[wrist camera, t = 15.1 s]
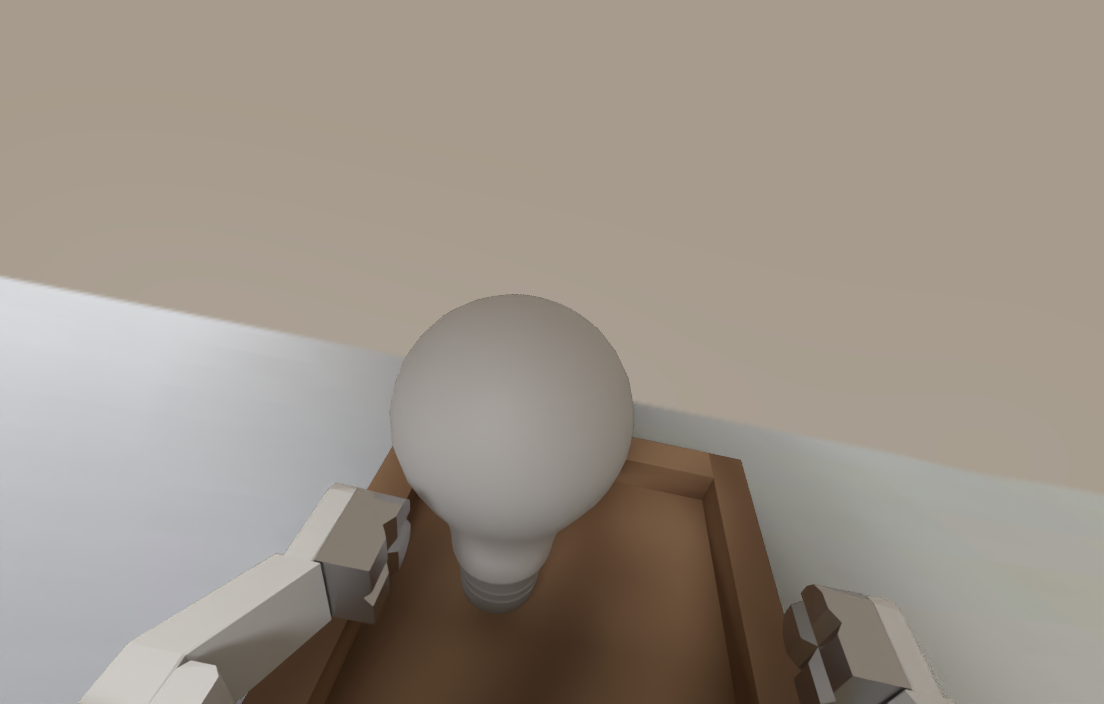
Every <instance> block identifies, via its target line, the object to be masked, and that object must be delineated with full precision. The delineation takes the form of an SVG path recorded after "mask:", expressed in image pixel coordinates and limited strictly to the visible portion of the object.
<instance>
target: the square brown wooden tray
mask: <svg viewBox="0 0 1104 704" xmlns="http://www.w3.org/2000/svg"><path fill="white" fill-rule="evenodd" d="M367 490H370V491H374V492H379V493H383V494H388V495H392V496H396V497H401V498H405V499H409V500H410V512H409V514H408V516H407V518H406V519H407V520H408V521H409V523H410V524H411V532H410V539H409V544H408V547H407V550H406V554H405V557H404V559H403V562H402V564H401V566H400V569H399V570H398V571H397V572H396V573H394V574H393V575H391V576H390V577H389V587H390V592H389V594H388V596H387V599H386V601H385V603H384V606H383V608H382V610H381V612H380V615H379V617H378V619H377V621H376V624H375V625H374V624H368V623H363V622H358V621H352V620H347V619H342V618H336V617H331V618H332V619H331V621H329V622H328V623H327V624H326V625H325V626H324V627H323V628H321V629H320V630H319V631H318V632H317V633H316V634H314V635H313V636H312V637H311V638H310V639H309V640H308V641H306V642H305V643H304V644H303V645H302V646H301V647H299V648H298V649H297V650H296V651H295V652H294V653H293V654H291V655H290V656H289V657H288V658H287V659H286V660H284V661H283V662H282V663H281V664H280V665H279V666H278V667H276V668H275V669H274V670H273V671H272V672H271V673H270V674H268V675H267V676H266V677H265V678H264V679H263V680H261V681H260V682H259V683H258V684H257V685H256V686H255V687H253V688H252V689H251V690H250V691H249V692H248V694H247V695H246V697H245V699H244V700H243V702H242V704H800V702H799V698H798V694H797V691H796V687H795V683H794V680H793V679H794V676H795V674H796V671H797V669H798V667H797V666H796V665H795V664H794V662H793V661H792V660H791V659H790V657H789V656H788V655H787V653H786V649H785V645H784V641H783V632H782V626H783V620H784V614H783V610H782V607H781V603H780V600H779V596H778V592H777V589H776V585H775V581H774V578H773V574H772V571H771V567H770V563H769V560H768V556H767V553H766V549H765V545H764V542H763V538H762V534H761V531H760V527H759V524H758V520H757V516H756V513H755V509H754V506H753V502H752V498H751V495H750V491H749V487H748V484H747V480H746V477H745V473H744V469H743V466H742V462H741V460H738V459H734V458H729V457H724V456H719V455H715V454H710V453H705V452H700V451H696V450H691V449H686V448H681V447H677V446H672V445H667V444H662V443H658V442H653V441H648V440H643V439H639V438H634V437H632V439H631V444H630V448H629V451H628V455H627V459H626V461H625V463H624V465H623V467H622V469H621V471H620V473H619V475H618V476H617V478H616V479H615V481H614V483H613V484H612V486H611V487H610V489H609V490H608V492H607V493H606V494H605V495H604V496H603V497H602V498H601V500H600V501H599V502H598V503H597V504H596V505H595V506H594V507H592V508H591V509H590V510H588V511H587V512H586V513H585V514H583V515H582V516H581V517H579V518H578V519H577V520H575V521H574V522H572V523H571V524H570V525H568V526H567V527H565V528H564V529H562V530H560V531H559V532H557V534H556V536H555V538H554V540H553V543H552V547H551V550H550V554H549V556H548V558H547V560H546V561H545V563H544V564H543V566H542V567H541V568H540V570H539V573H538V578H537V581H536V583H535V586H534V589H533V592H532V594H531V596H530V597H529V599H528V600H527V601H526V602H525V603H524V604H523V605H522V606H520V607H519V608H517V609H515V610H513V611H511V612H507V613H500V614H495V613H488V612H485V611H482V610H480V609H479V608H477V607H475V606H474V605H473V604H472V603H471V602H470V601H469V600H468V598H467V597H466V596H465V593H464V591H463V588H462V583H461V578H460V564H459V562H458V560H457V558H456V556H455V554H454V551H453V546H452V538H451V531H450V528H449V525H448V524H447V523H446V522H445V521H444V520H443V519H441V518H440V517H439V516H438V515H437V514H435V513H434V512H433V511H432V510H431V509H430V508H429V506H428V505H427V504H426V503H425V502H424V501H423V500H422V499H421V498H420V497H419V496H418V494H417V493H416V492H415V491H414V489H413V488H412V487H411V485H410V484H409V483H408V482H407V479H406V477H405V475H404V472H403V470H402V467H401V465H400V463H399V460H398V458H397V455H396V453H395V451H394V448H393V446H392V448H391V450H390V451H389V453H388V455H387V457H386V458H385V460H384V462H383V463H382V465H381V467H380V468H379V470H378V472H377V474H376V475H375V477H374V479H373V480H372V482H371V484H370V486H369V487H368V489H367Z"/></svg>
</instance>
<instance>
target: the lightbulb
mask: <svg viewBox="0 0 1104 704" xmlns="http://www.w3.org/2000/svg"><path fill="white" fill-rule="evenodd" d="M390 423H391V434H392V445H393V448H394V451H395V453H396V455H397V458H398V460H399V463H400V465H401V467H402V470H403V472H404V475H405V477H406V479H407V482H408V483H409V484H410V485H411V487H412V488H413V489H414V491H415V492H416V493H417V494H418V496H419V497H420V498H421V499H422V500H423V501H424V502H425V503H426V504H427V505H428V506H429V508H430V509H431V510H432V511H433V512H434V513H435V514H437V515H438V516H439V517H440V518H441V519H443V520H444V521H445V522H446V523H447V524H448V525H449V528H450V531H451V538H452V546H453V551H454V554H455V556H456V558H457V560H458V562H459V564H460V578H461V583H462V588H463V591H464V593H465V596H466V597H467V598H468V600H469V601H470V602H471V603H472V604H473V605H474V606H475V607H477V608H479V609H480V610H482V611H485V612H488V613H495V614H500V613H507V612H511V611H513V610H515V609H517V608H519V607H520V606H522V605H523V604H524V603H525V602H526V601H527V600H528V599H529V597H530V596H531V594H532V592H533V589H534V586H535V583H536V581H537V578H538V573H539V570H540V568H541V567H542V566H543V564H544V563H545V561H546V560H547V558H548V556H549V554H550V550H551V547H552V543H553V540H554V538H555V536H556V534H557V532H559V531H560V530H562V529H564V528H565V527H567V526H568V525H570V524H571V523H572V522H574V521H575V520H577V519H578V518H579V517H581V516H582V515H583V514H585V513H586V512H587V511H588V510H590V509H591V508H592V507H594V506H595V505H596V504H597V503H598V502H599V501H600V500H601V498H602V497H603V496H604V495H605V494H606V493H607V492H608V490H609V489H610V487H611V486H612V484H613V483H614V481H615V479H616V478H617V476H618V475H619V473H620V471H621V469H622V467H623V465H624V463H625V461H626V459H627V455H628V451H629V448H630V444H631V439H632V433H633V427H634V408H633V401H632V395H631V389H630V384H629V378H628V376H627V374H626V372H625V370H624V368H623V366H622V364H621V361H620V359H619V357H618V355H617V353H616V351H615V350H614V348H613V347H612V346H611V344H610V343H609V342H608V340H607V339H606V338H605V336H604V335H603V334H602V333H601V332H600V330H599V329H598V328H597V327H595V326H594V325H593V324H592V323H590V322H589V321H588V320H587V319H585V318H584V317H582V316H581V315H579V314H578V313H577V312H575V311H573V310H572V309H570V308H568V307H566V306H564V305H561V304H559V303H556V302H553V301H550V300H547V299H544V298H540V297H535V296H530V295H518V294H512V295H500V296H492V297H487V298H483V299H478V300H475V301H473V302H470V303H468V304H465V305H463V306H461V307H459V308H456V309H454V310H452V311H450V312H449V313H447V314H446V315H444V316H443V317H442V318H441V319H439V320H438V321H437V322H436V323H435V324H433V325H432V326H431V327H430V328H429V329H428V330H427V331H426V332H425V333H424V334H423V335H422V336H421V337H420V338H419V340H418V341H417V342H416V343H415V345H414V346H413V347H412V349H411V350H410V352H409V353H408V355H407V356H406V358H405V360H404V361H403V364H402V366H401V369H400V371H399V374H398V376H397V379H396V382H395V387H394V391H393V396H392V401H391V407H390Z"/></svg>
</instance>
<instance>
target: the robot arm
mask: <svg viewBox="0 0 1104 704" xmlns="http://www.w3.org/2000/svg"><path fill="white" fill-rule="evenodd" d="M409 512H410V500H409V499H405V498H401V497H396V496H392V495H388V494H383V493H379V492H374V491H370V490H366V489H362V488H358V487H353V486H348V485H344V484H339V483H335V484H334V485H333V486H332V487H330V488H329V489H328V490H327V492H326V493H325V495H324V496H323V498H322V499H321V501H320V502H319V503H318V505H317V506H316V508H315V509H314V511H313V512H312V514H311V515H310V517H309V518H308V520H307V521H306V523H305V524H304V526H303V527H302V529H301V530H300V531H299V533H298V534H297V536H296V537H295V539H294V540H293V542H292V543H291V545H290V546H289V548H288V549H287V551H286V552H285V554H284V555H283V554H278V553H276V554H274V555H273V556H271V557H269V558H268V559H266V560H264V561H263V562H261V563H259V564H258V565H256V566H254V567H253V568H251V569H249V570H248V571H246V572H244V573H243V574H241V575H240V576H238V577H236V578H235V579H233V580H231V581H230V582H228V583H226V584H225V585H223V586H221V587H220V588H218V589H216V590H215V591H213V592H211V593H210V594H208V595H206V596H205V597H203V598H202V599H200V600H198V601H197V602H195V603H193V604H192V605H190V606H188V607H187V608H185V609H183V610H182V611H180V612H178V613H177V614H175V615H173V616H172V617H170V618H168V619H167V620H165V621H164V622H162V623H160V624H159V625H157V626H155V627H154V628H152V629H150V630H149V631H147V632H145V633H144V634H142V635H140V636H139V637H137V638H135V639H134V640H132V641H131V642H129V643H128V644H127V645H126V646H125V647H124V649H123V650H122V651H121V652H120V653H119V654H118V656H117V657H116V658H115V659H114V660H113V662H112V663H111V664H110V665H109V666H108V668H107V669H106V670H105V671H104V672H103V673H102V675H101V676H100V677H99V678H98V679H97V681H96V682H95V683H94V684H93V685H92V687H91V688H90V689H89V690H88V691H87V693H86V694H85V695H84V696H83V697H82V698H81V700H80V701H79V702H78V703H77V704H236V702H237V701H238V700H240V699H241V698H242V697H243V696H244V695H245V694H246V693H248V692H249V691H250V690H251V689H252V688H253V687H255V686H256V685H257V684H258V683H259V682H260V681H261V680H263V679H264V678H265V677H266V676H267V675H268V674H270V673H271V672H272V671H273V670H274V669H275V668H276V667H278V666H279V665H280V664H281V663H282V662H283V661H284V660H286V659H287V658H288V657H289V656H290V655H291V654H293V653H294V652H295V651H296V650H297V649H298V648H299V647H301V646H302V645H303V644H304V643H305V642H306V641H308V640H309V639H310V638H311V637H312V636H313V635H314V634H316V633H317V632H318V631H319V630H320V629H321V628H323V627H324V626H325V625H326V624H327V623H328V622H329V621H331V619H332V618H331V617H336V618H342V619H347V620H352V621H358V622H363V623H368V624H374V625H375V624H376V621H377V619H378V617H379V615H380V612H381V610H382V608H383V606H384V603H385V601H386V599H387V596H388V594H389V592H390V587H389V577H390V576H391V575H393V574H394V573H396V572H397V571H398V570H399V569H400V566H401V564H402V562H403V559H404V557H405V554H406V550H407V547H408V544H409V539H410V532H411V524H410V523H409V521H408V520H407V519H406V518H407V516H408V514H409ZM801 595H802V598H803V601H801V602H798V603H795V604H792V605H791V606H790V607H789V609H788V610H787V611H786V613H785V614H784V620H783V626H782V632H783V641H784V645H785V649H786V653H787V655H788V656H789V657H790V659H791V660H792V661H793V662H794V664H795V665H796V666H797V667H798V669H797V671H796V674H795V676H794V679H793V680H794V683H795V687H796V691H797V694H798V698H799V702H800V704H956V703H955V702H954V701H953V700H952V699H948V698H944V697H943V695H942V693H941V691H940V689H939V687H938V685H937V683H936V681H935V679H934V677H933V675H932V673H931V671H930V669H929V667H928V665H927V663H926V661H925V659H924V657H923V655H922V653H921V651H920V649H919V647H918V645H917V643H916V641H915V639H914V637H913V635H912V633H911V631H910V629H909V627H908V625H907V623H906V621H905V619H904V617H903V615H902V613H901V611H900V609H899V608H898V607H897V605H896V604H895V603H894V602H893V601H889V600H886V599H882V598H876V597H871V596H866V595H862V594H861V593H855V592H850V591H845V590H840V589H835V588H830V587H825V586H819V585H814V584H813V585H809V586H807V587H806V588H805V589H804V590H803V591H802V592H801Z"/></svg>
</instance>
